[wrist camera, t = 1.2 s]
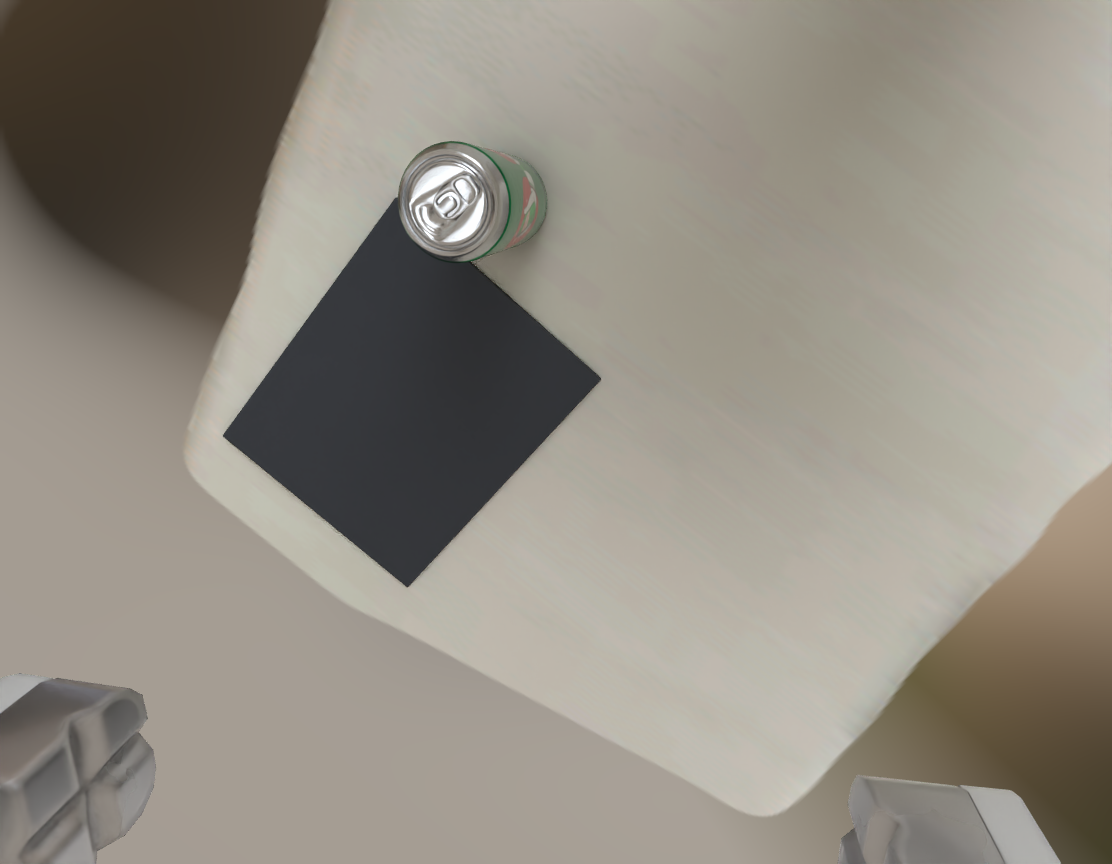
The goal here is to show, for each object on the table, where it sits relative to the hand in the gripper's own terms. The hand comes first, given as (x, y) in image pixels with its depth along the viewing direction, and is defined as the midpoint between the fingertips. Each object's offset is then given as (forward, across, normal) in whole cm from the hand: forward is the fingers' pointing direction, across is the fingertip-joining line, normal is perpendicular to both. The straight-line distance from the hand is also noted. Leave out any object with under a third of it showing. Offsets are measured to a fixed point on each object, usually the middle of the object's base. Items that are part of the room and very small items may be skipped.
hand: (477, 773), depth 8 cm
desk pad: (+37, +14, +7) cm, 40 cm away
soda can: (+37, +7, -6) cm, 38 cm away
